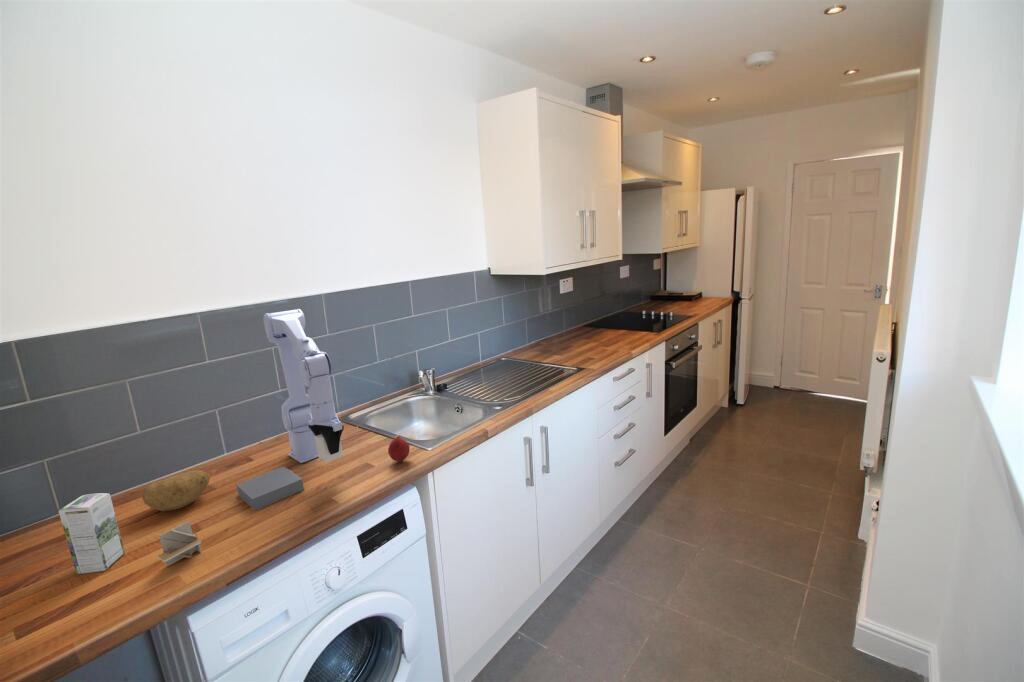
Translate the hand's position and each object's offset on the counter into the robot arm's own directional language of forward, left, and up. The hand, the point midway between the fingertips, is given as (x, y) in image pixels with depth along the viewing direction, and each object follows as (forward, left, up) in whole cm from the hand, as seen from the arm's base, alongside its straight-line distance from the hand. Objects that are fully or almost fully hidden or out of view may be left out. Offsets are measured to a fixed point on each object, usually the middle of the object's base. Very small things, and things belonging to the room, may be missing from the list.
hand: (329, 450), depth 124 cm
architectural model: (+5, -35, -10) cm, 37 cm away
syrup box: (-8, -47, -9) cm, 49 cm away
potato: (-22, -30, -9) cm, 38 cm away
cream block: (0, 0, -2) cm, 2 cm away
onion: (+5, +17, -9) cm, 20 cm away
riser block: (-9, -13, -9) cm, 18 cm away
